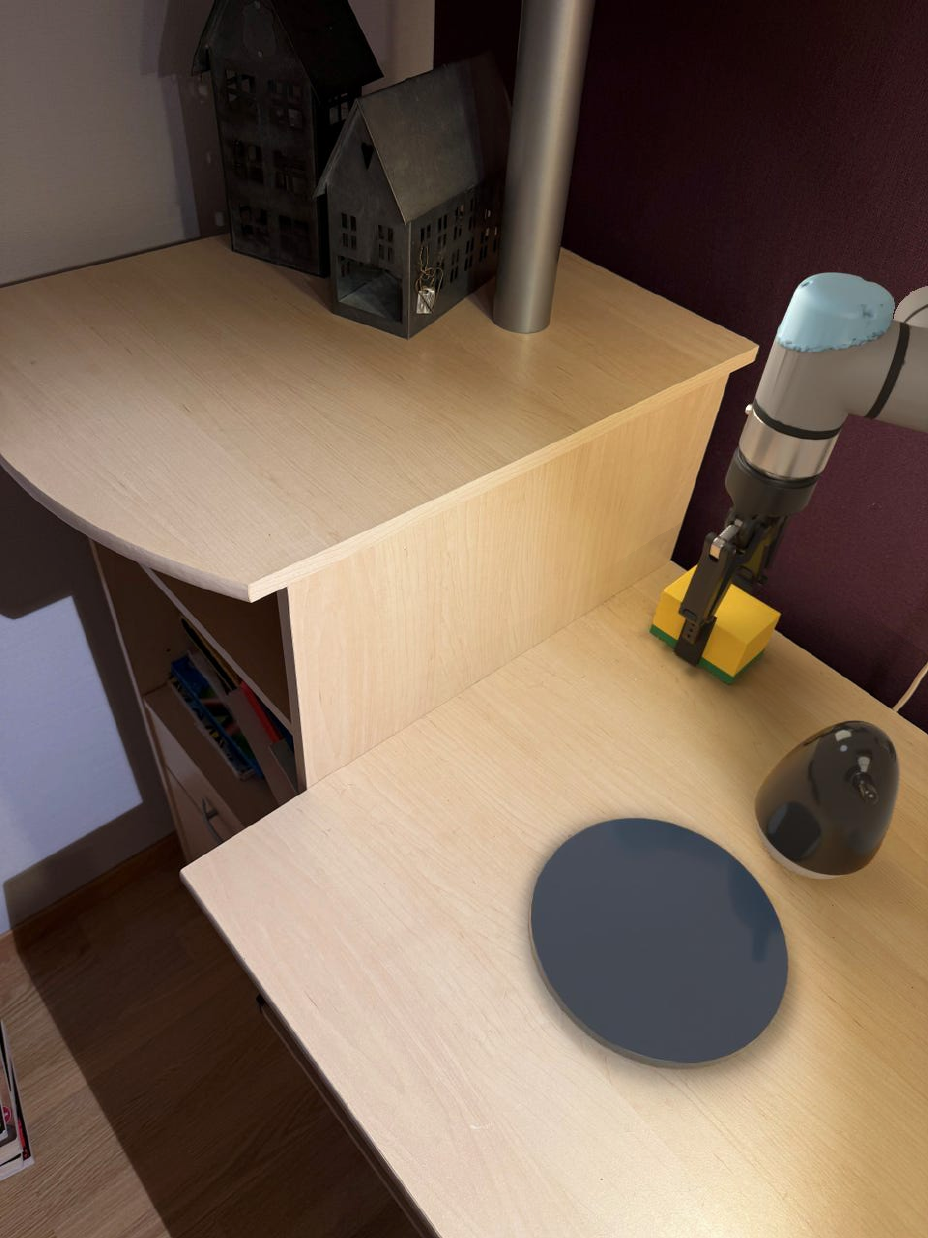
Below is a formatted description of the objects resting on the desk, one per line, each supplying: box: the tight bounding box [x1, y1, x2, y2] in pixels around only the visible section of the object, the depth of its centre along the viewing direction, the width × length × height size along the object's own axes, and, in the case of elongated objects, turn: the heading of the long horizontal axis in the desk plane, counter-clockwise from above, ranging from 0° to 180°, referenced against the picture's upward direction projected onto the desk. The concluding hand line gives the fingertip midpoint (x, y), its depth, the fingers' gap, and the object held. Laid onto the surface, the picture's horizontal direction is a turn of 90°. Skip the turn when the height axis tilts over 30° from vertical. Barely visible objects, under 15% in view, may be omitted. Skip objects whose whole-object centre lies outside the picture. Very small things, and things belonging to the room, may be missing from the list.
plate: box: [528, 817, 789, 1070], centre depth 71 cm, size 20×20×1 cm
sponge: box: [649, 564, 782, 686], centre depth 93 cm, size 10×6×6 cm, turn 46°
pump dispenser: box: [754, 719, 901, 880], centre depth 73 cm, size 10×10×15 cm
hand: (705, 640), depth 95 cm, fingers closed on sponge, 6 cm apart
